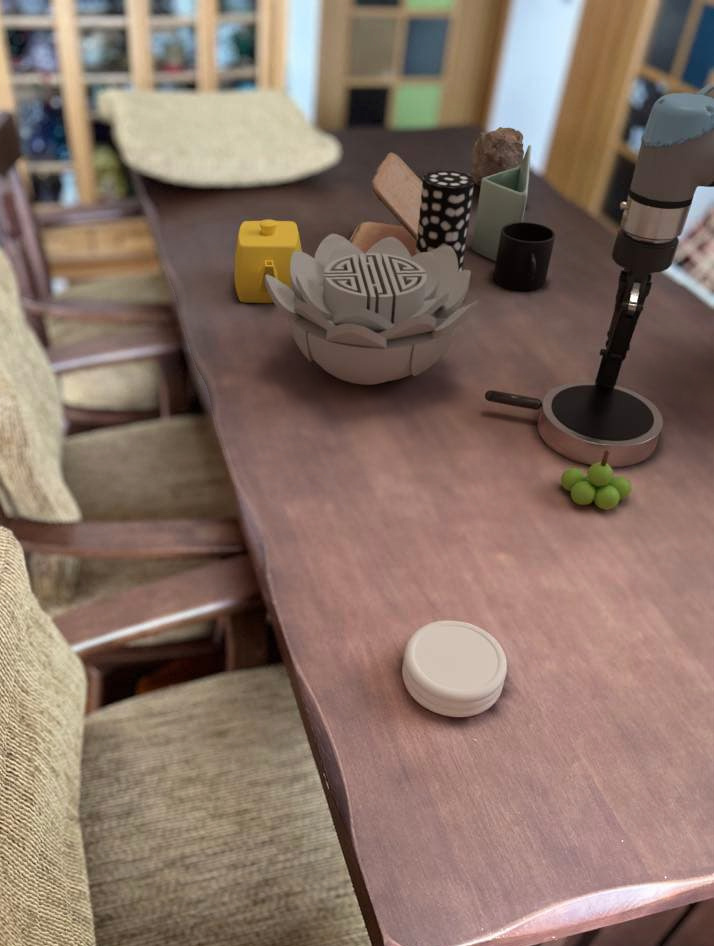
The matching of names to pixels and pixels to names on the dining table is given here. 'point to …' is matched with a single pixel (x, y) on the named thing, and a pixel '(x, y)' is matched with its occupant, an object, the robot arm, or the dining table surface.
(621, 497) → the grapes
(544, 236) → the mug
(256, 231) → the teapot
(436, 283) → the decorative bowl
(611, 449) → the pan
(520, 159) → the stone
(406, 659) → the round cream tin
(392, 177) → the case
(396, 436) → the dining table surface
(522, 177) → the green magazine holder
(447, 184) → the spotted tube
